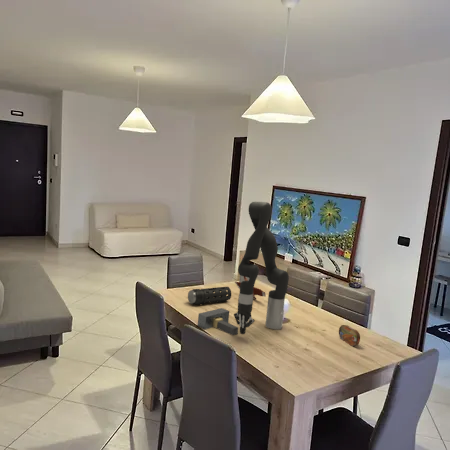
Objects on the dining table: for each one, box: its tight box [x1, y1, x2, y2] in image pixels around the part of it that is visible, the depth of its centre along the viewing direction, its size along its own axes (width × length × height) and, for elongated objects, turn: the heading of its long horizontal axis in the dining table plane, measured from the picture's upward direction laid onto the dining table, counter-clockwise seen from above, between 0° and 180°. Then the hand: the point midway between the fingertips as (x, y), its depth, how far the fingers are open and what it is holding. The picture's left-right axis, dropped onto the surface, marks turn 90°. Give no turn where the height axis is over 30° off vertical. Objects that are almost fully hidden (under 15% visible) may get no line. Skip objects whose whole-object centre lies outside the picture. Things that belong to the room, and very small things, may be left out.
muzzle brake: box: [187, 286, 232, 306], centre depth 265 cm, size 10×28×10 cm, turn 123°
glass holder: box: [237, 275, 250, 290], centre depth 306 cm, size 9×14×15 cm, turn 40°
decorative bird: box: [234, 277, 267, 300], centre depth 278 cm, size 28×18×15 cm, turn 42°
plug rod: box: [212, 317, 239, 336], centre depth 222 cm, size 16×4×4 cm, turn 45°
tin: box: [338, 324, 361, 347], centre depth 219 cm, size 15×3×8 cm, turn 21°
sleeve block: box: [197, 307, 230, 330], centre depth 228 cm, size 6×18×7 cm, turn 135°
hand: (242, 333), depth 213 cm, fingers closed
